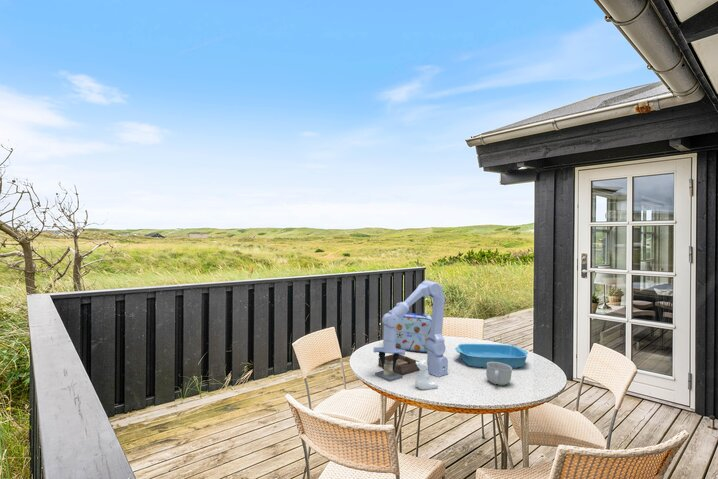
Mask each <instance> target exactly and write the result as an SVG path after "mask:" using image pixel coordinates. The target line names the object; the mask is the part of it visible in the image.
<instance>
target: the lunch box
mask: <svg viewBox="0 0 718 479" xmlns="http://www.w3.org/2000/svg"><path fill="white" fill-rule="evenodd" d="M431 320H432V315H430V314H425V313H423V312H422V313H413V312H407V313H406V314H405V315H404V316H403V317H402V318H401V319H400V320H399V322H398V325H397V326H396V346H395V348H396V349H401V350H405V351H409V352H417V353H420V352H421V353H427V348H426V346H425V342H426V340H427V337H428V334H429V333H430V331H431Z"/></svg>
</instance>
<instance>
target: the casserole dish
mask: <svg viewBox="0 0 718 479" xmlns="http://www.w3.org/2000/svg"><path fill="white" fill-rule="evenodd" d="M454 349H455V351H456V353H459V357H460V358H461V359H462V360H463V362H464V363H465V364H466V365H468V366H469V367H473V368H481V367H487V363H488V362H499V363H503V364H507V365H509V366H510V367H512V369H518V367H520V368H521V367H523V366H524V365H525V363H526V360H527V357H528V354H529V352H528V351H527V350H526V349H523V348H520V347H517V346H515V345H510V344H502V343H501V344H499V343H498V344H497V343H496V344H495V343H494V344H493V343H492V344H491V343H460V344H458V345H457V347H455V348H454Z"/></svg>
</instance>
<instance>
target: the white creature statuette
mask: <svg viewBox="0 0 718 479" xmlns="http://www.w3.org/2000/svg"><path fill="white" fill-rule="evenodd" d="M417 361H419V362H417ZM417 361H416V365H417V367H418V368H419V369H420V370H419V371H417V377H416V379H415V386H416V388H417V389H420V390H421V389H422V391H425V390H433V389H434V390H435V389H437V388H439V384H438V383H437V382H435V381H432V382H431V381H430V379H429V378H430V376H431V374H429V373H428V370H427V369H428V365H427V361H426V360H425V359H420V360H417Z"/></svg>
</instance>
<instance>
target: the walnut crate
mask: <svg viewBox="0 0 718 479" xmlns="http://www.w3.org/2000/svg"><path fill="white" fill-rule="evenodd" d="M393 355H394V354H389V355H385V362H393ZM416 361H417V362H419V361H420V360H417V359H414V358H411V357H410V356H409V357H408V356H406V355H400V354H399V357H398V359H397V361H396V364H395V369H394V372H395V373H397V374H400V375H402V376H404V375H408V374H412V373H414V372H415V373H416V372H419V371H420V369H419V368H418V367H417V365H416ZM378 367H380V368H381V369H383V367H382V363H381V360H380V357H378Z"/></svg>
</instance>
